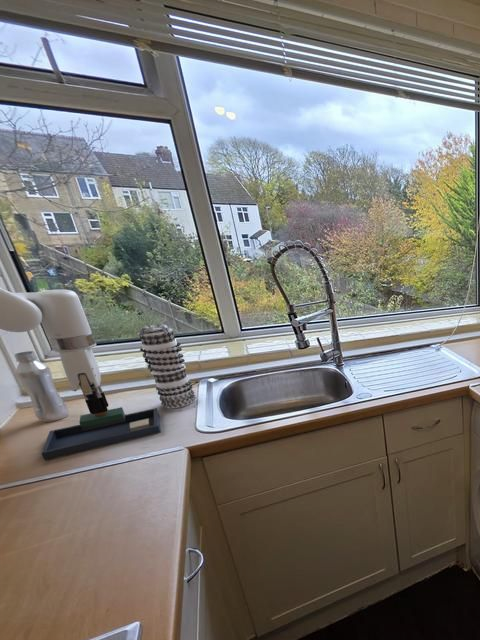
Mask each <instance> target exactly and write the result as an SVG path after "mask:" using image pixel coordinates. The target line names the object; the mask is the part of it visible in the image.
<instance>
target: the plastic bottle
mask: <svg viewBox="0 0 480 640" xmlns="http://www.w3.org/2000/svg"><path fill="white" fill-rule="evenodd" d="M14 358H15V361H16V362H17V363H18V364H17V366H16V368H15V371H14V373H15V376H16V378H17V379H18V381H19V382H20V383H21V385H22V386H23V388H24V390H25V391H26V392H27V394H28V397H29V398H30V401H31V404H32V407H33V412H34V416H35V417H36V418H37V419H38V420H39V421H40V422H43V423H51V422H56V421H60V420H63V419H65V418H67V417H68V416H69V414H70V411H69V406H68V405H67V404H66V403H65V401H64V400H63V398H62V397H61V396H60V393H59V392H58V390H57V388H56V385H55V383H54V378H53V374H52V370H51V368H50V367H49V366H48V365H47V364H45V363H44V362H42V361H40V360H38V356H37V355H36V353H35V351H32V350H30V351H29V350H28V351H20V352H16V353H15V354H14Z"/></svg>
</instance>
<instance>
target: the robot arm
mask: <svg viewBox="0 0 480 640" xmlns="http://www.w3.org/2000/svg"><path fill="white" fill-rule="evenodd" d="M40 324H41V326H42V328H43V331H44V333H45V336H46V338H47V340H48V342H49V344H50V347H51V350H52V352H54V353H59V354H58V355H59V358H60V361H61V365H62V367H63V370H64V373H65V376H66V378H67V379H66V380H67V381H68V384H69V387H70V390H71V391H73V392H77V390H79V388H80V390H81V393H82V395H83V397H84V401H85V404H86V406H87V408H88V411H89V414H90V413H91V414H96V413H101V412H106V411H108V410H109V409H108V407H109V402H108V400H107V398H106V395H105V392H104V391H103V389H102V386H101V381H102V375H101V370H100V367H99V364H98V361H97V358H96V357H95V354H94V351H93V349H92V348H94V347H96V346H97V342H96V340H95V337H94V334H93V332H92V329H91V327H90V324H89V321H88V318H87V316H86V313H85V310H84V307H83V305H82V303H81V300H80V297H79V295H78V294H77V292H75V291H74V290H71V289H46V290H39V291H35V292H32V291H31V292H11V291H8V290H6V289H4V288H2V287H0V330H2V331H6V332H10V333H26V332H30V331H32V330H34V329H36V328H37V327H39V326H40ZM93 389H95V391H94V390H93ZM98 389H99V390H98ZM92 390H93V391H92ZM99 391H100V392H99ZM100 393H101V395H100ZM101 396H102V397H101Z"/></svg>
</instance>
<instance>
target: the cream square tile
mask: <svg viewBox="0 0 480 640" xmlns="http://www.w3.org/2000/svg"><path fill="white" fill-rule="evenodd" d="M146 427H150V421H149V419H144V420H140V421H136V422H131V423H130V430H131V431H133V430H138V429H142V428H146Z"/></svg>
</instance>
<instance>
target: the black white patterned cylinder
mask: <svg viewBox="0 0 480 640" xmlns="http://www.w3.org/2000/svg"><path fill="white" fill-rule="evenodd" d="M173 330H174V329H173V328H170V327H169V326H168V325H166V324H150V325H146V326H143V327H141V328H140V330H139V332H138V333H136V335H137V336H138V337H139V339H140V342H141V348H139V351H140V352H142V355H141V356H142V358H144V362H145V363H146V364H147V365H146V366H147V369H148V370H149V372H150V375H153V377H154V383H155V385H156V387H155V390H156V391H157V395H159V401H160V405H161V406H163V407H165V408H167V409H178V408H182V407H186V406H189V405H191V404H193V403H194V401H195V399H196V398H197V397H196V394H195V390H194V389H193V388H194V387H193V385H192V381H191V380H190V379H189V376H188V374H187V372H186V365H185V364H184V363H185V361H186V360H185V359H184V354H183V353H180V352H181V351H182V350H183V349H182V347H180V346H181V343H180V342H178V341H177V339H176V338H175V334H174V331H173Z"/></svg>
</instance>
